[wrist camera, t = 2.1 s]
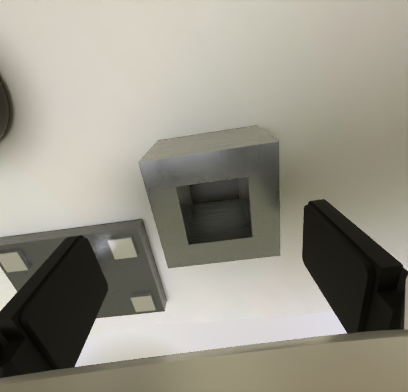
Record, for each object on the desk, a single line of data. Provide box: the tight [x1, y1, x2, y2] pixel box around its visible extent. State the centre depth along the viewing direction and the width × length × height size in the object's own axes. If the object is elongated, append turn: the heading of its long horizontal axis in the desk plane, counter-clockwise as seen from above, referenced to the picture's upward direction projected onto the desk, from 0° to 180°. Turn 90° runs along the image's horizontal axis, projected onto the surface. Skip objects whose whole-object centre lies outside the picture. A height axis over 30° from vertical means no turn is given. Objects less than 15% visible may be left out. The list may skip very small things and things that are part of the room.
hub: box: [139, 126, 280, 268], centre depth 14 cm, size 7×7×5 cm
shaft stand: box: [0, 219, 166, 318], centre depth 18 cm, size 12×9×6 cm
